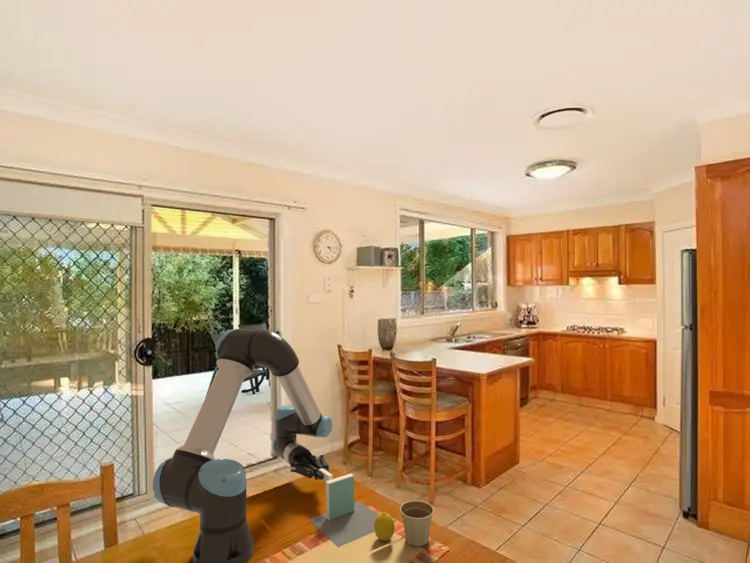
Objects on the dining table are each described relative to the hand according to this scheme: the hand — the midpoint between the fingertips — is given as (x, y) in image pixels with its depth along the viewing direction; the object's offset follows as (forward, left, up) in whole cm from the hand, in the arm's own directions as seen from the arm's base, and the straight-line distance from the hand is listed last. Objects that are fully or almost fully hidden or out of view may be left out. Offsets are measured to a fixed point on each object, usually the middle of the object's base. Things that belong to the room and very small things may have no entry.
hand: (330, 479), depth 138 cm
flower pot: (+27, -16, -9) cm, 32 cm away
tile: (+4, -5, -8) cm, 10 cm away
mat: (+7, -9, -9) cm, 14 cm away
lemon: (+18, -17, -9) cm, 26 cm away
